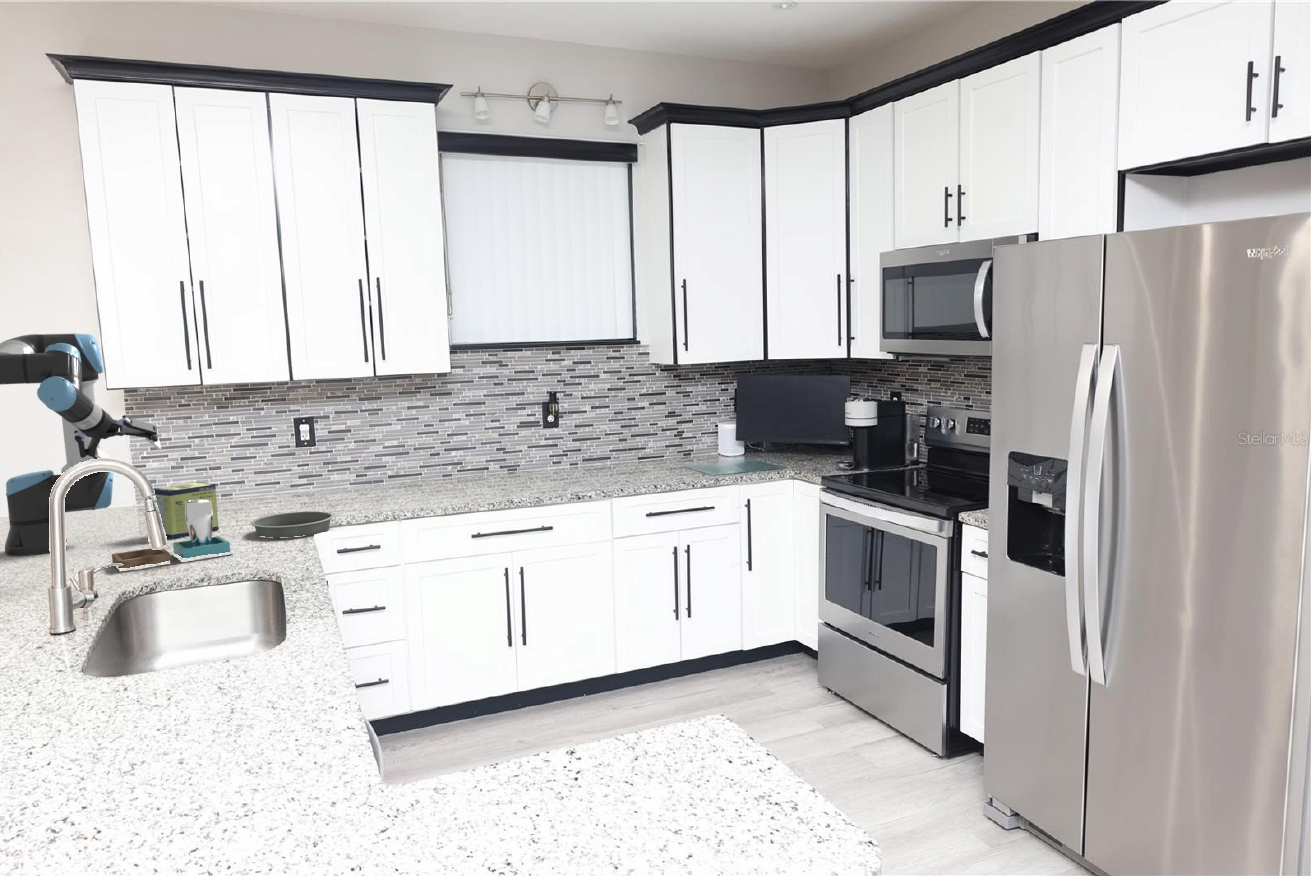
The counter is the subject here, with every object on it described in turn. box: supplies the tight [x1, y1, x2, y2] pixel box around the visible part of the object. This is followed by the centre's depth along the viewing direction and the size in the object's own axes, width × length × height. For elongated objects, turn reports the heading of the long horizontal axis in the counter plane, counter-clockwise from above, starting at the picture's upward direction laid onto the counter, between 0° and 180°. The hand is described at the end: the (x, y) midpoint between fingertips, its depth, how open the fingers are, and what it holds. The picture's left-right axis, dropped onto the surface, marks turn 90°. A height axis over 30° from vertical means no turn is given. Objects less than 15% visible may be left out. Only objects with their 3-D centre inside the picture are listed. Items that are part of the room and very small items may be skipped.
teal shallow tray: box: [172, 535, 231, 558], centre depth 242 cm, size 13×13×4 cm
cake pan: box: [250, 510, 334, 539], centre depth 273 cm, size 25×25×4 cm
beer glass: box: [185, 499, 213, 548], centre depth 242 cm, size 7×7×15 cm
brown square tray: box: [111, 547, 172, 568], centre depth 233 cm, size 12×12×3 cm
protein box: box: [153, 481, 220, 540], centre depth 273 cm, size 10×16×16 cm
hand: (134, 453), depth 239 cm, fingers open, 13 cm apart
